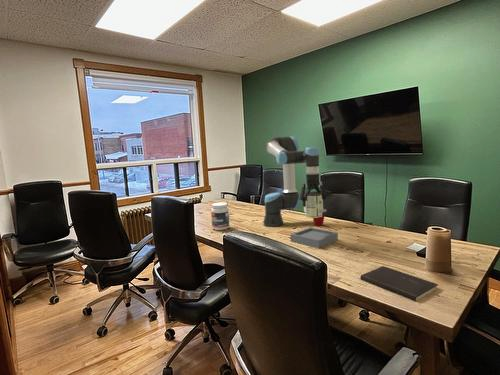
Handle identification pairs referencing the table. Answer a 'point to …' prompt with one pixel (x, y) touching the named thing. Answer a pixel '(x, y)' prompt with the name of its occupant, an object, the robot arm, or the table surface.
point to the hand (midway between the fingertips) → (313, 210)
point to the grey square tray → (314, 237)
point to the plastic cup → (319, 219)
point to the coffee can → (314, 205)
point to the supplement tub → (220, 216)
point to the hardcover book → (399, 283)
